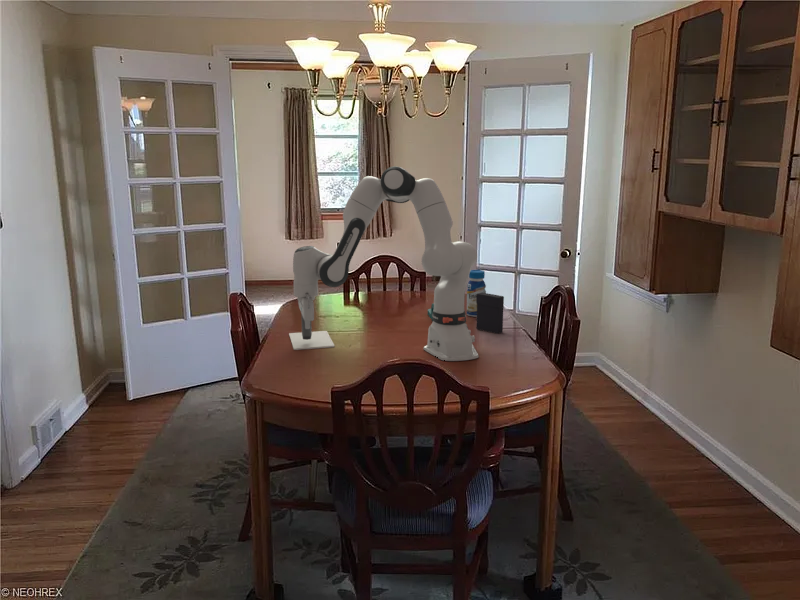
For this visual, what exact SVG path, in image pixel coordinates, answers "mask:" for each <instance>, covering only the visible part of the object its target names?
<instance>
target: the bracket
mask: <svg viewBox="0 0 800 600" xmlns="http://www.w3.org/2000/svg"><path fill="white" fill-rule="evenodd" d="M433 310H434V302H432V303H431V307H430V308H428V309H427V316H428V315H429V316H428V317H429V318H431V319H432V314H433ZM431 319H430V320H431ZM431 322H433V320H431Z"/></svg>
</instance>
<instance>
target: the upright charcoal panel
mask: <svg viewBox="0 0 800 600" xmlns="http://www.w3.org/2000/svg"><path fill="white" fill-rule="evenodd" d="M504 300H505V297H504V296H503V295H497V294H492V293H488V292H486V293H478V294H477V296H476V303H477V317H476V327H475V328H476V330H479V331H483V330H484V331H483V332H489V333H493V334H496V335H497V334H501V333H503V329H504V327H503V326H504Z"/></svg>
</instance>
